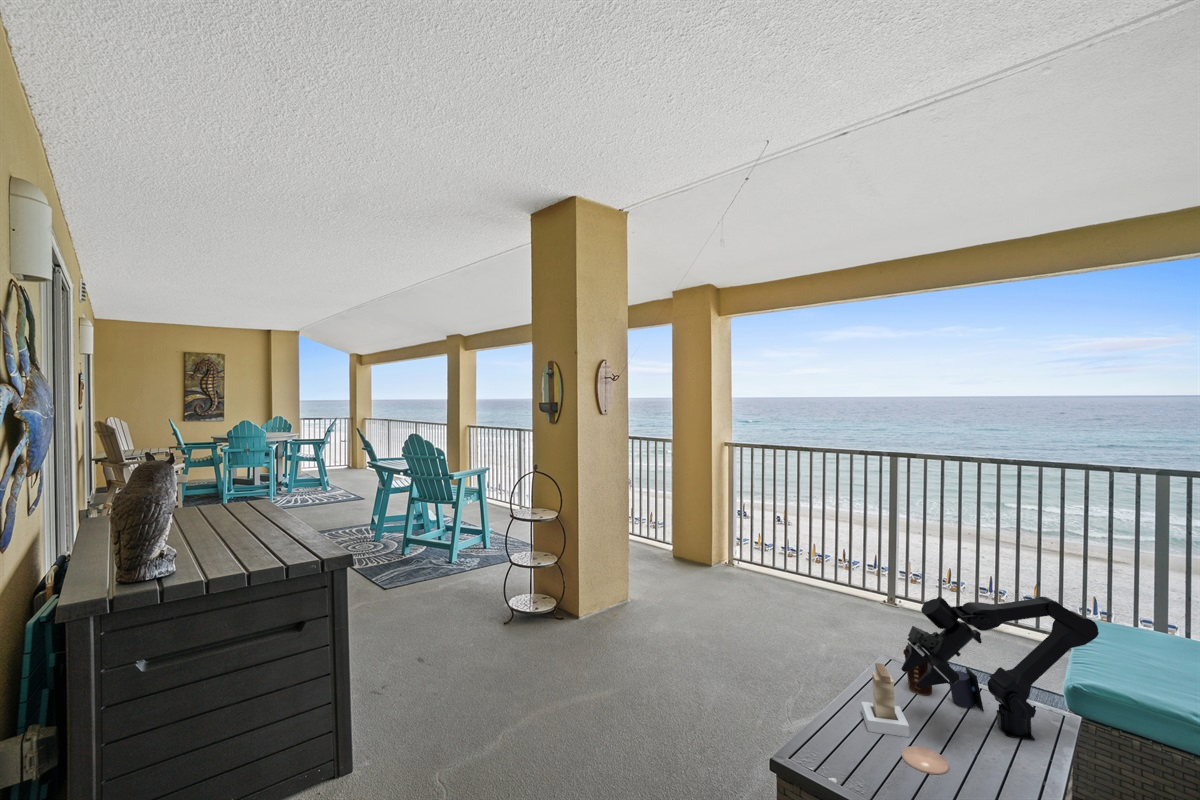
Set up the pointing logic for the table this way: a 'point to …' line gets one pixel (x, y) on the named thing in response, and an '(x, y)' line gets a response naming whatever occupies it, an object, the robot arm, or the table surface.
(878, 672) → the wooden block tower
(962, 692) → the speaker
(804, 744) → the table surface
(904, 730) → the socket
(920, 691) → the coffee cup
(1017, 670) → the robot arm
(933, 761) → the peach flat disc
